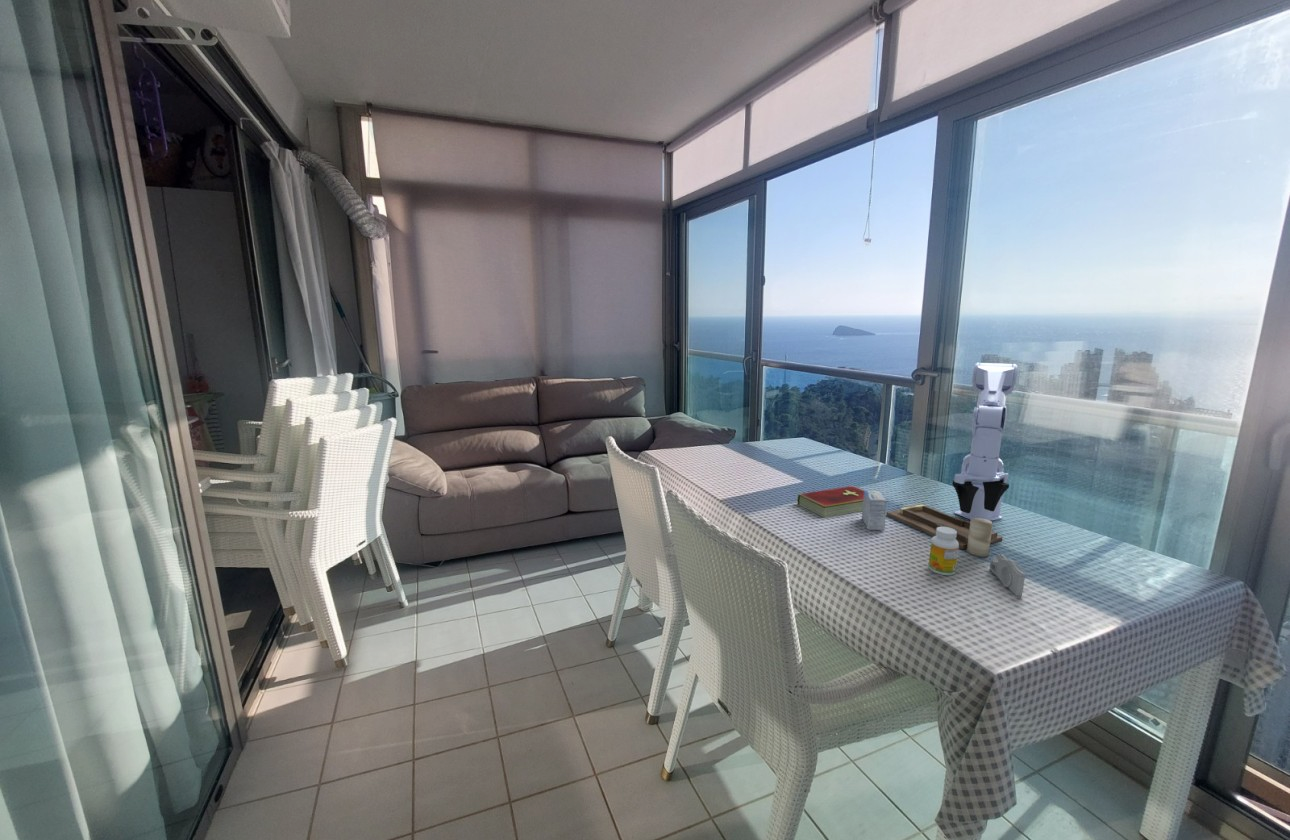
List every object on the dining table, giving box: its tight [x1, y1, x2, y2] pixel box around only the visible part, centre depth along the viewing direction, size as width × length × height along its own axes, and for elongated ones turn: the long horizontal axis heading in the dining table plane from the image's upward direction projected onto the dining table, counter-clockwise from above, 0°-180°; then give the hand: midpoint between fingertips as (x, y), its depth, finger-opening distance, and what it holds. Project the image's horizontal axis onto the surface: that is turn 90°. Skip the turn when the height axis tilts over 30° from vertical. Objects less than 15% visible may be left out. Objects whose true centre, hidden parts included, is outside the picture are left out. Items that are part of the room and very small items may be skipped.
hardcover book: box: [797, 485, 866, 518], centre depth 157 cm, size 12×21×4 cm, turn 111°
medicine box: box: [861, 490, 888, 531], centre depth 142 cm, size 8×4×9 cm, turn 168°
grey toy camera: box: [989, 553, 1029, 597], centre depth 111 cm, size 12×2×6 cm, turn 170°
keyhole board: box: [886, 503, 1003, 550], centre depth 141 cm, size 14×24×2 cm, turn 20°
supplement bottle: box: [928, 527, 960, 576], centre depth 117 cm, size 5×5×10 cm
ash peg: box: [966, 518, 994, 558], centre depth 125 cm, size 4×4×8 cm
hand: (977, 511), depth 125 cm, fingers open, 7 cm apart
